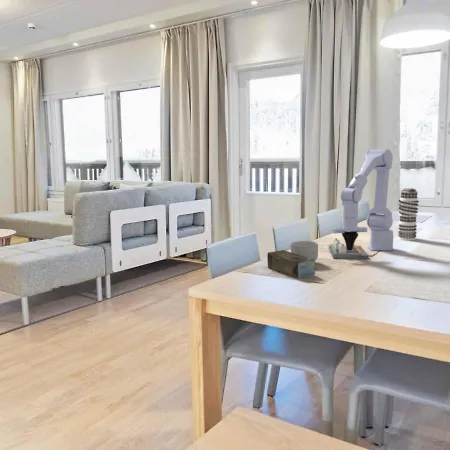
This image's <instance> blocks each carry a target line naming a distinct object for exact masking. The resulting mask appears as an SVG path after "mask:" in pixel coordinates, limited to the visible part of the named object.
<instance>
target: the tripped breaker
mask: <svg viewBox="0 0 450 450" xmlns="http://www.w3.org/2000/svg"><path fill="white" fill-rule="evenodd" d="M339 253H346V243H341V244H339Z"/></svg>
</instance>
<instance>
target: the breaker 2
mask: <svg viewBox="0 0 450 450" xmlns="http://www.w3.org/2000/svg"><path fill="white" fill-rule="evenodd" d="M339 244H342V241H335V250H339Z"/></svg>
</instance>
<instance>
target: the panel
mask: <svg viewBox="0 0 450 450" xmlns="http://www.w3.org/2000/svg"><path fill="white" fill-rule="evenodd" d="M327 248H328V250H329V253H330V255H331V257H332V259H341V260H342V259H343V260H345V259H348V260H349V259H350V260H369V254H368V253H367V251H365V249H364V248H363V247H362V246H361V245H356V244H355V243H354V245H353V248H352V250H347V247H346V253H339V250H335V247H333V243H330V245H328V247H327Z"/></svg>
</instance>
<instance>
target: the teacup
mask: <svg viewBox="0 0 450 450" xmlns="http://www.w3.org/2000/svg"><path fill="white" fill-rule="evenodd" d="M289 246H290V252H291V253H294V254H298V255H301V256H304V257H307V258H310V259H313V260H315V261H317V259H318V258H319V257H318V256H319V242H317V241H314V240H297V241H293V242H291V243H290V244H289Z"/></svg>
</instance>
